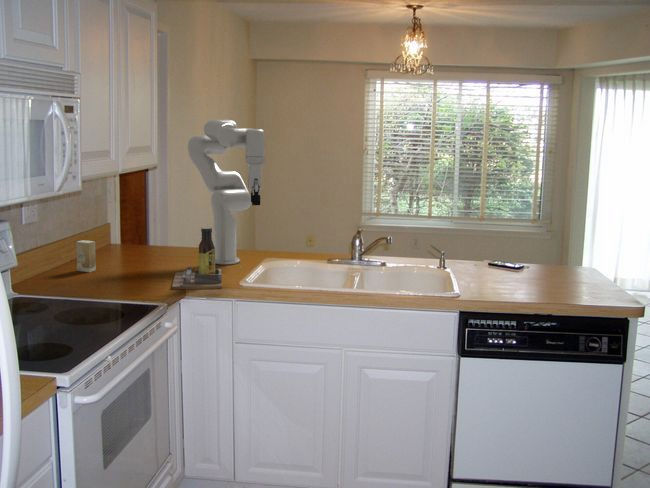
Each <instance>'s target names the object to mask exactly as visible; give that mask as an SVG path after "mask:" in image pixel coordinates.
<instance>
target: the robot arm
mask: <svg viewBox="0 0 650 488" xmlns="http://www.w3.org/2000/svg"><path fill="white" fill-rule="evenodd" d="M203 132H204V134H203V135H202V134H201V135H194V136H192V137H191V138H190V139H189V140H188V143H187V152H188V156H189V158H190V160H191V161H192V163H193V164H194V166H195V167H196V169H197V170H198V172H199V174H200V177H202V178H201V179H202V180H203V182H204V184H205V187H206V188H207V189H208V191H209V192H211V193H212V194H211V198H210V203H211V208H212V215H213V244H214V247H215V265H222V266H223V265H235V264H238V263H240V262H241V258H240V257H238V256H237V221H236V219H235V218H236V217H234V216H233V214H232V212H237V211H238V212H239V211H246V210H248V209H249V208H250V207H251V205H252V206H261V191H260V190H262V182H263V181H262V180H263V179H262V175H263V173H262V172H263V165H265V164H266V163H265V162H266V159H265V158H266V156H265V155H266V154H265V153H266V152H265V146H266V143H265V141H266V140H265V138H266V137H265V136H266V134H265V131H264V130H263V129H259V128H250V127H249V128H248V127H246V128H245V127H243V128H242V127H238V125H237V123H236V122H235V121H234V120H232V119H211V120H208V121H207V122H206V123H205V124H204V126H203ZM229 148H245V165H247V166H248V167H247V168H248V169H247V185H246V184H245V181H244V179H243V178H242V175H240V174H239V173H238V172H237V171H235V170H222V169H221V168H220V167H219V165H218V163H217V162H216V161H215V160H214V159H213V157H210V156H209V155H223V154H225V153H226V152H227V151H228V150H229ZM249 191H251V192H249Z"/></svg>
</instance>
